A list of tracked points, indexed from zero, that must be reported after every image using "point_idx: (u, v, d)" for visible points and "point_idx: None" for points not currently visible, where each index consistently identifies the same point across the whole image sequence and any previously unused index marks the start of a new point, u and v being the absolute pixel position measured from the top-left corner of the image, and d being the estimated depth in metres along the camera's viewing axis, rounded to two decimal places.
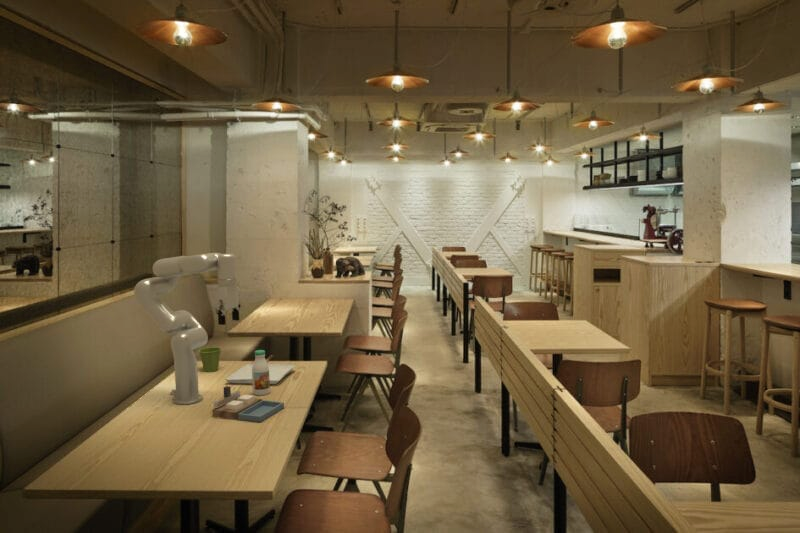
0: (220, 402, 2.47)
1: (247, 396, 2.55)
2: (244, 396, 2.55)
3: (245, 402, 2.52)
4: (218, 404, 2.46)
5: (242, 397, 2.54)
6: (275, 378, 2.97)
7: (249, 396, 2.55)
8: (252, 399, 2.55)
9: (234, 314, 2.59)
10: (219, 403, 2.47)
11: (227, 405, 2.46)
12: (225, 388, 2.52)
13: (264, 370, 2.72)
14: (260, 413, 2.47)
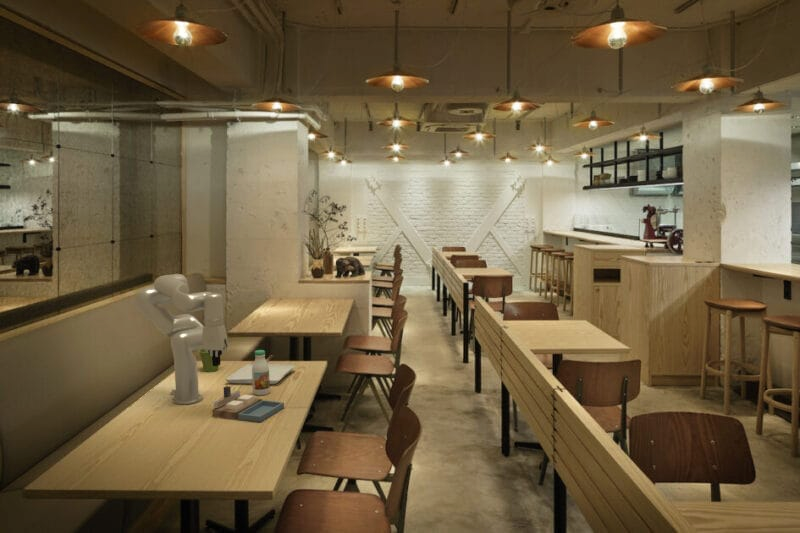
0: (220, 402, 2.47)
1: (247, 396, 2.55)
2: (244, 396, 2.55)
3: (245, 402, 2.52)
4: (218, 404, 2.46)
5: (242, 397, 2.54)
6: (275, 378, 2.97)
7: (249, 396, 2.55)
8: (252, 399, 2.55)
9: None
10: (219, 403, 2.47)
11: (227, 405, 2.46)
12: (225, 388, 2.52)
13: (264, 370, 2.72)
14: (260, 413, 2.47)
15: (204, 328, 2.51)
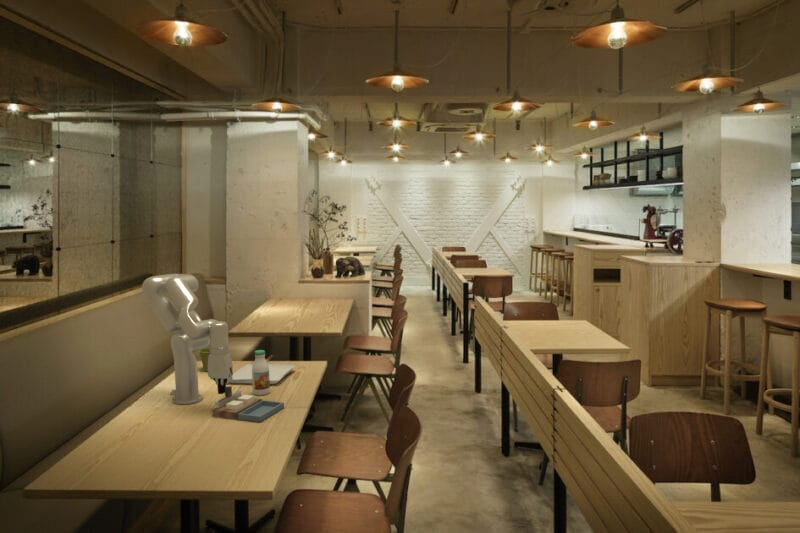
0: (221, 402, 2.47)
1: (247, 396, 2.55)
2: (244, 396, 2.55)
3: (245, 402, 2.52)
4: (219, 404, 2.46)
5: (242, 397, 2.54)
6: (275, 378, 2.97)
7: (249, 396, 2.55)
8: (252, 399, 2.55)
9: None
10: (220, 403, 2.47)
11: (227, 405, 2.46)
12: (226, 388, 2.52)
13: (264, 370, 2.72)
14: (260, 413, 2.47)
15: (210, 356, 2.51)
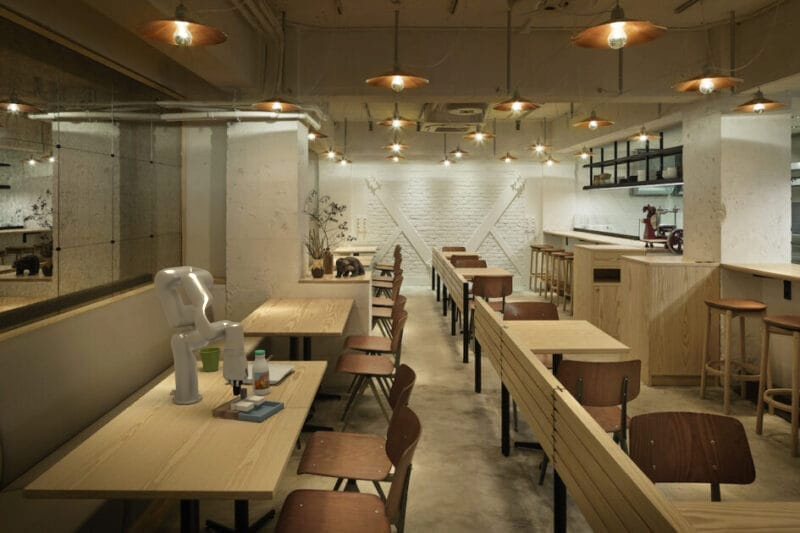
0: (237, 404, 2.45)
1: (257, 397, 2.54)
2: (254, 397, 2.54)
3: (255, 403, 2.50)
4: (234, 406, 2.43)
5: (252, 398, 2.52)
6: (275, 378, 2.97)
7: (259, 397, 2.54)
8: (262, 400, 2.53)
9: None
10: None
11: (237, 406, 2.44)
12: (242, 390, 2.49)
13: (264, 370, 2.72)
14: (260, 413, 2.47)
15: (225, 357, 2.48)
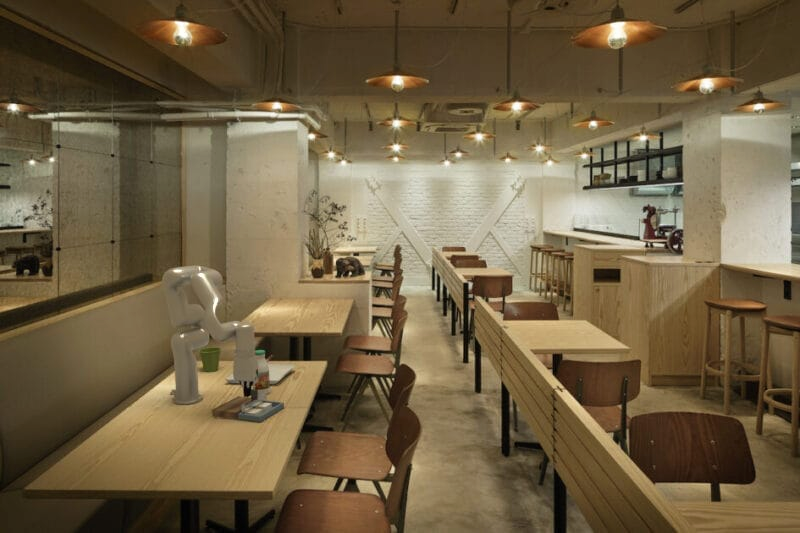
0: (248, 405, 2.43)
1: (264, 404, 2.53)
2: (261, 404, 2.53)
3: (263, 410, 2.49)
4: (245, 407, 2.41)
5: (259, 405, 2.51)
6: (275, 378, 2.97)
7: (266, 404, 2.53)
8: (269, 407, 2.52)
9: None
10: (247, 406, 2.42)
11: (246, 413, 2.43)
12: (252, 391, 2.47)
13: (264, 370, 2.72)
14: None
15: (235, 358, 2.47)
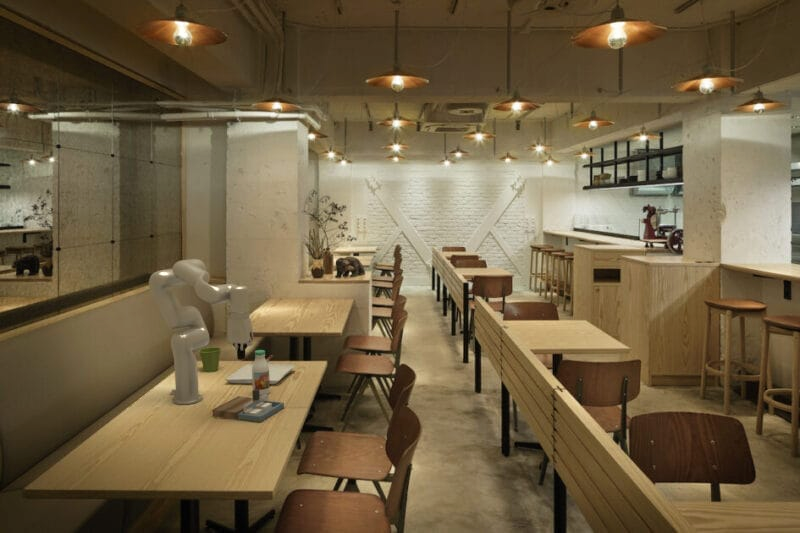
0: (249, 405, 2.43)
1: (264, 404, 2.53)
2: (261, 404, 2.53)
3: (263, 410, 2.49)
4: (247, 407, 2.41)
5: (259, 405, 2.51)
6: (275, 378, 2.97)
7: (266, 404, 2.53)
8: (269, 407, 2.52)
9: None
10: (248, 406, 2.42)
11: (246, 413, 2.43)
12: (254, 391, 2.47)
13: (264, 370, 2.72)
14: None
15: (229, 321, 2.46)
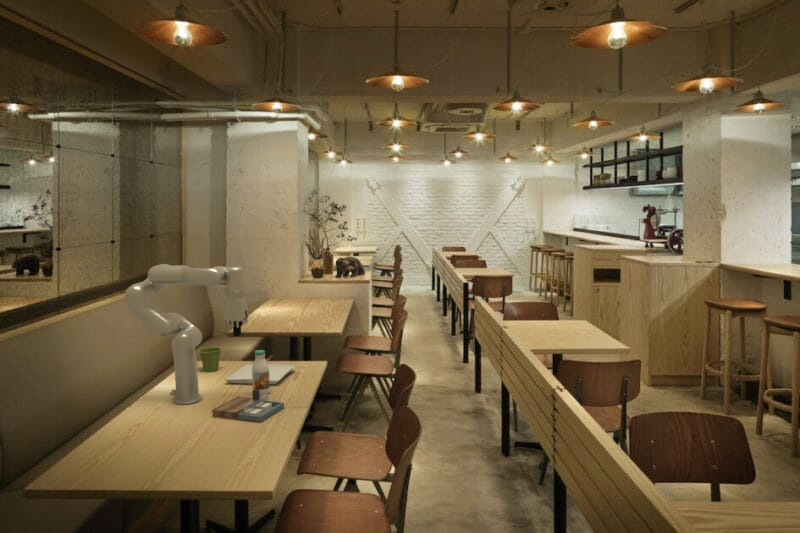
0: (249, 405, 2.43)
1: (264, 404, 2.53)
2: (261, 404, 2.53)
3: (263, 410, 2.49)
4: (247, 407, 2.41)
5: (259, 405, 2.51)
6: (275, 378, 2.97)
7: (266, 404, 2.53)
8: (269, 407, 2.52)
9: None
10: (248, 406, 2.42)
11: (246, 413, 2.43)
12: (254, 391, 2.47)
13: (264, 370, 2.72)
14: None
15: (226, 300, 2.61)
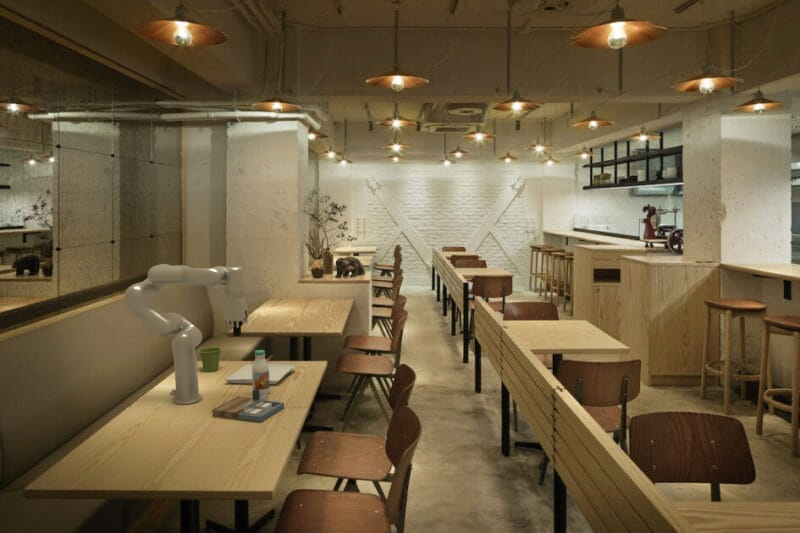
0: (249, 405, 2.43)
1: (264, 404, 2.53)
2: (261, 404, 2.53)
3: (263, 410, 2.49)
4: (247, 407, 2.41)
5: (259, 405, 2.51)
6: (275, 378, 2.97)
7: (266, 404, 2.53)
8: (269, 407, 2.52)
9: None
10: (248, 406, 2.42)
11: (246, 413, 2.43)
12: (254, 391, 2.47)
13: (264, 370, 2.72)
14: None
15: (226, 300, 2.61)
